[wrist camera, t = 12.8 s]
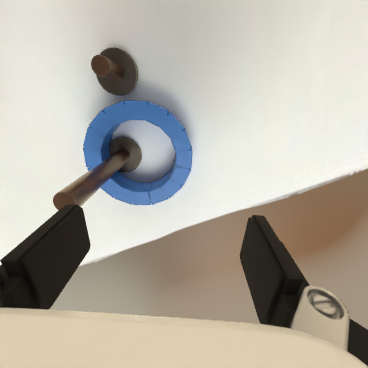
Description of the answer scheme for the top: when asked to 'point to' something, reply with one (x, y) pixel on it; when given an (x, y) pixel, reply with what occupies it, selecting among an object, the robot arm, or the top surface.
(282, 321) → the robot arm
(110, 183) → the segmented ring
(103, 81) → the short peg
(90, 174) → the tall peg
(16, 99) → the top surface
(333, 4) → the top surface
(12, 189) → the top surface
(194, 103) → the top surface
